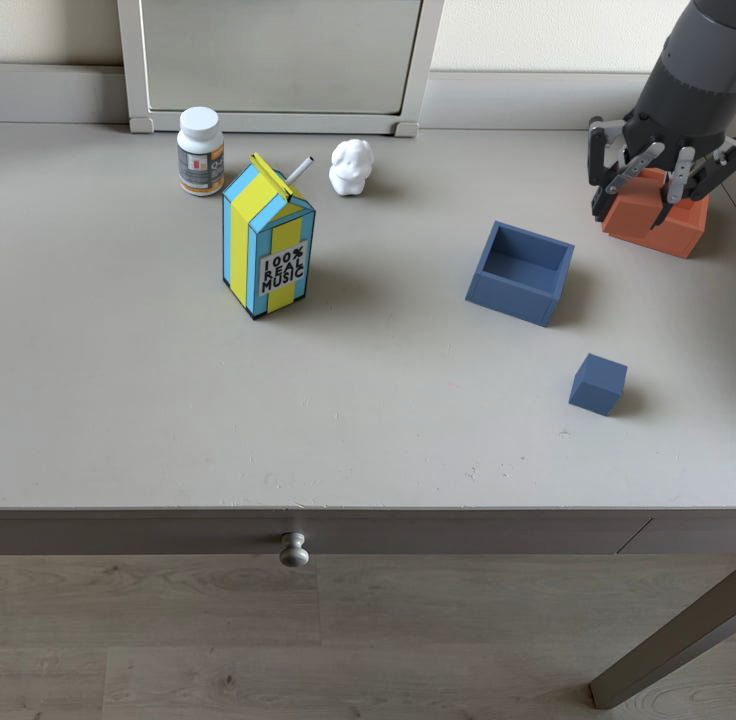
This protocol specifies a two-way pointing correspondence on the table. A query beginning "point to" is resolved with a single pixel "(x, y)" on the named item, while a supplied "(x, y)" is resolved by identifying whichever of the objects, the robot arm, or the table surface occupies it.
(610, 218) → the terracotta block
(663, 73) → the robot arm
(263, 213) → the carton
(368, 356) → the table surface
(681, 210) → the terracotta bin
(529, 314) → the slate bin
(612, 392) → the slate-blue block
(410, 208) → the table surface
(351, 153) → the figurine
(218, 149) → the pill bottle
